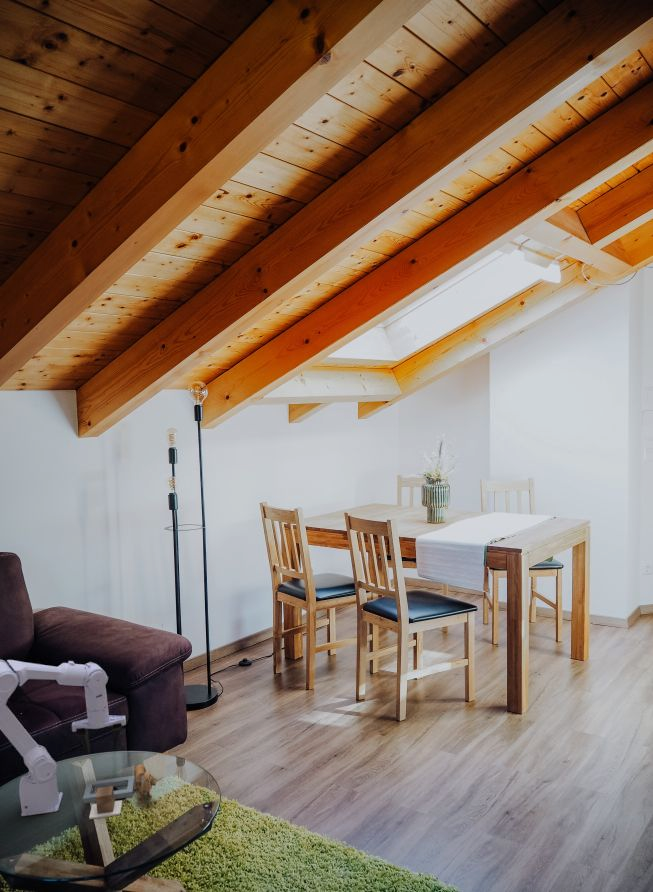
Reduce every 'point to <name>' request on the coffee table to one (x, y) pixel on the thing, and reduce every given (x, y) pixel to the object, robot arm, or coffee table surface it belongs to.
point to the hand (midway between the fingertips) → (102, 750)
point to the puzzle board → (110, 782)
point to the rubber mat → (115, 812)
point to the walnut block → (105, 799)
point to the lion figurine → (143, 782)
